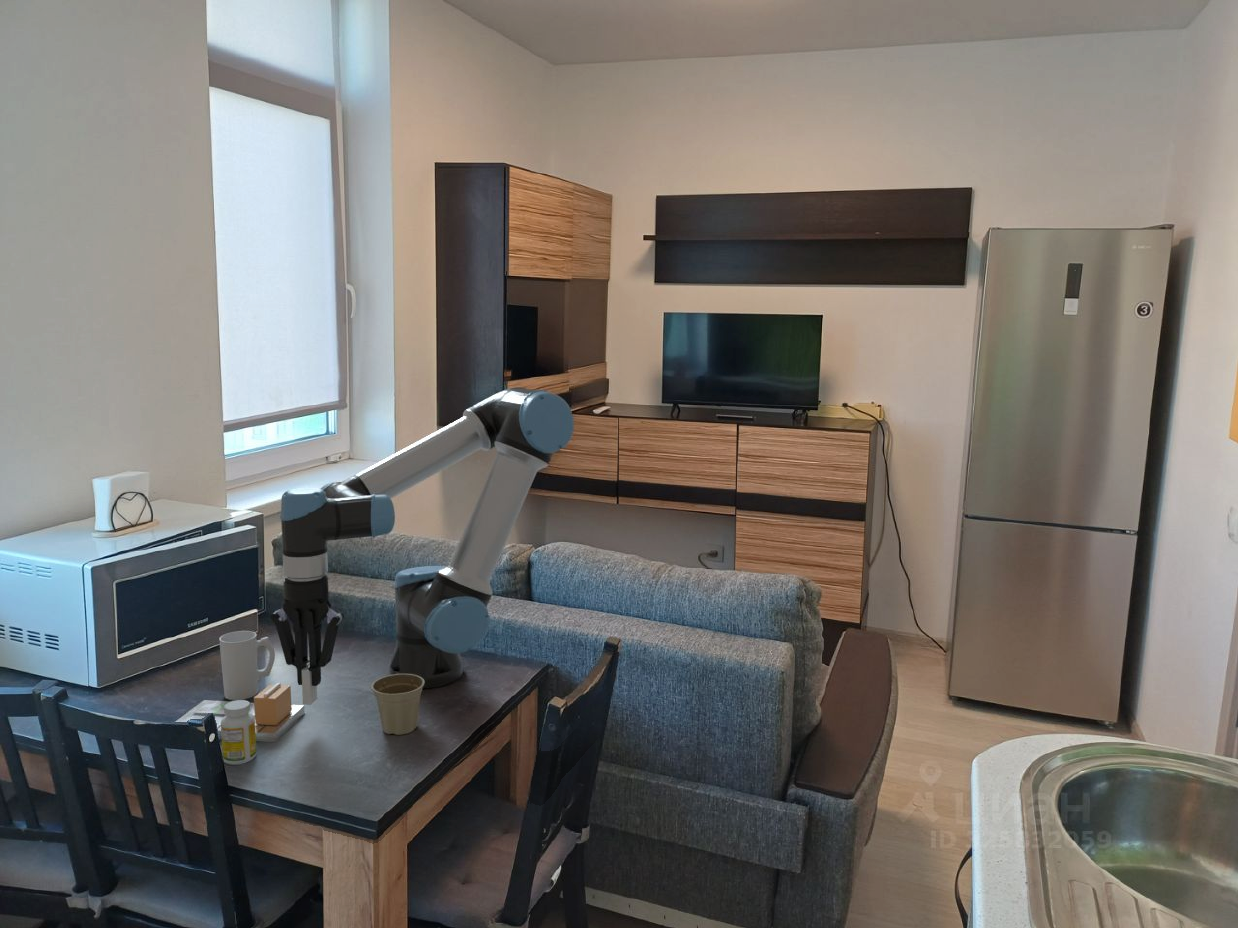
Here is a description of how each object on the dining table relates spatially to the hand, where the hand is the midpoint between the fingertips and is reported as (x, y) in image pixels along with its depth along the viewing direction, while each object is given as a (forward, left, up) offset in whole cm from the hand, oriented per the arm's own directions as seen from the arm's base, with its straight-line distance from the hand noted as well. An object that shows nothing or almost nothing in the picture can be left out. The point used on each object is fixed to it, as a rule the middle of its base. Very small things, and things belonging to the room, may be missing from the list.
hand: (310, 701), depth 166 cm
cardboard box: (+7, 0, -4) cm, 8 cm away
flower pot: (-16, -2, -6) cm, 17 cm away
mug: (+19, -14, -6) cm, 25 cm away
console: (+14, 0, -5) cm, 15 cm away
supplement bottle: (+7, +12, -6) cm, 15 cm away
